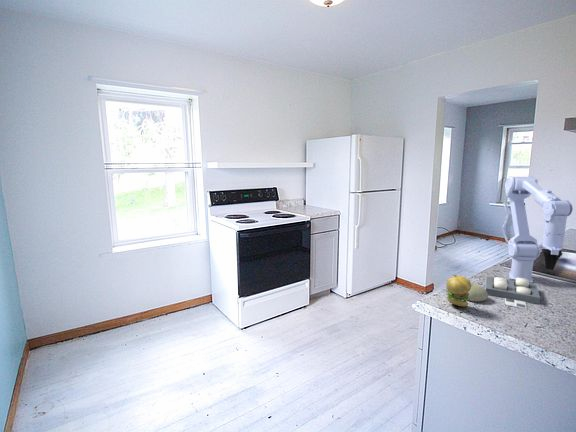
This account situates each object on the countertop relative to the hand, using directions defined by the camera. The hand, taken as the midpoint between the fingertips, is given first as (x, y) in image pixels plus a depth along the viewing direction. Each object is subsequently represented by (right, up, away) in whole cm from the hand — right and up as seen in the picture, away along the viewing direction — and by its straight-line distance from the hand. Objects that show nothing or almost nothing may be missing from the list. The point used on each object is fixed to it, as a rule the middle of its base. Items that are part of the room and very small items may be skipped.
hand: (549, 269), depth 116 cm
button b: (-16, -8, +3) cm, 19 cm away
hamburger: (-38, -12, -7) cm, 41 cm away
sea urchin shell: (-29, -11, -1) cm, 31 cm away
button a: (-13, -8, +9) cm, 17 cm away
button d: (-11, -10, -1) cm, 15 cm away
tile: (-17, -11, -6) cm, 21 cm away
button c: (-7, -8, +5) cm, 11 cm away
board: (-12, -10, +4) cm, 15 cm away
